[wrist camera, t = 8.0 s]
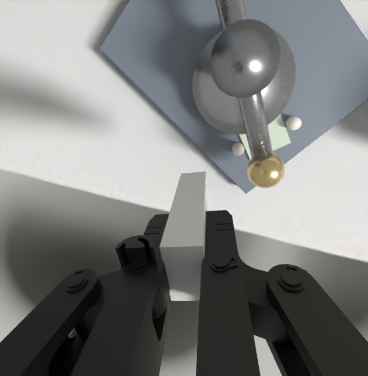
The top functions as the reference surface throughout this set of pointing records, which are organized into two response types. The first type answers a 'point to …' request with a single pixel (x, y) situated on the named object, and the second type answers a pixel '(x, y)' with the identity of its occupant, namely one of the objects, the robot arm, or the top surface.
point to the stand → (206, 30)
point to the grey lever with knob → (246, 85)
